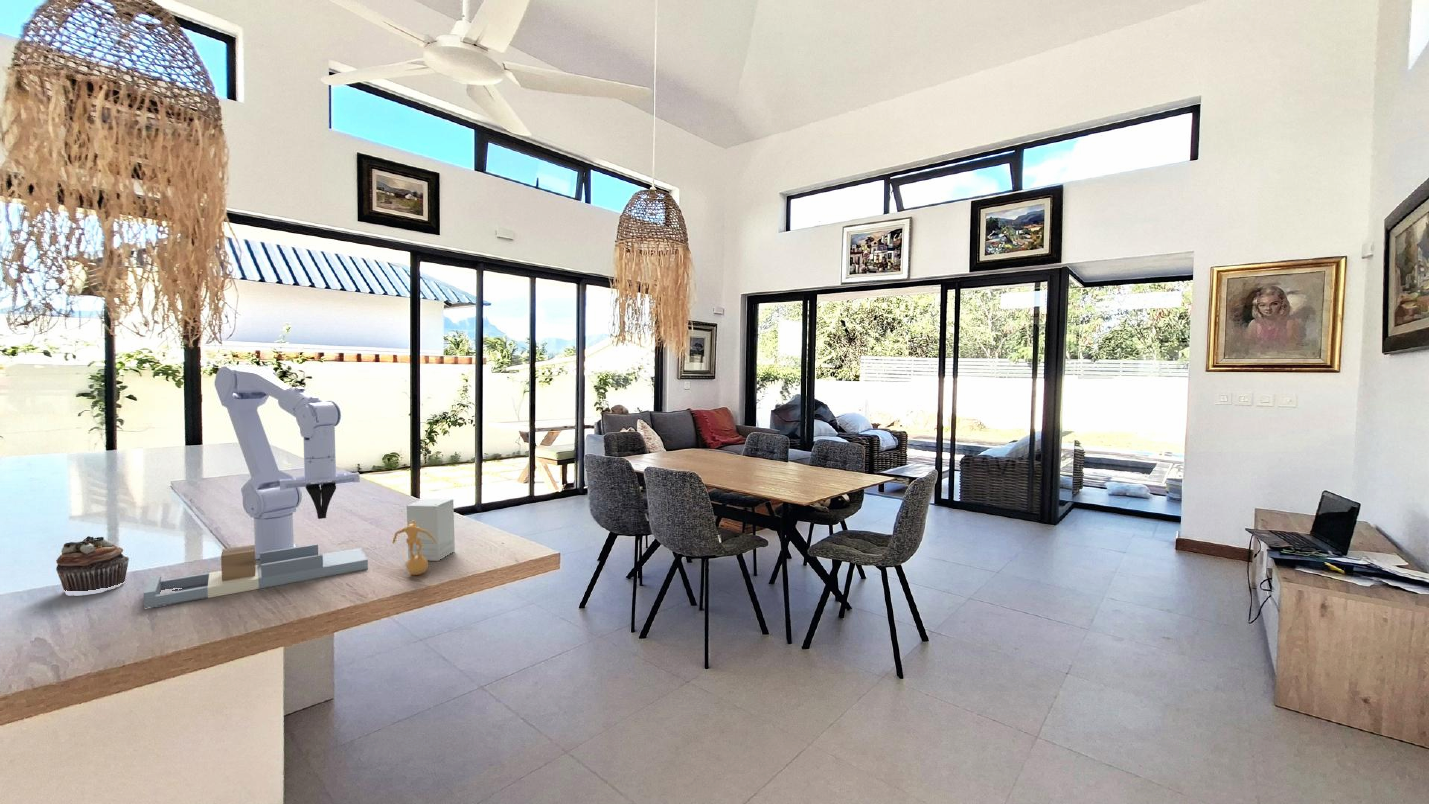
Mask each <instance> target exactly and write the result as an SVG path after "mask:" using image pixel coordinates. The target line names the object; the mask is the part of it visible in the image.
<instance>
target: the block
mask: <svg viewBox="0 0 1429 804" xmlns="http://www.w3.org/2000/svg"><path fill="white" fill-rule="evenodd" d="M221 551H222V552H221V554H220V563H221V565H220V566H221V571H222V581H228V580H234V579H240V578H246V577H252V576H255V572H256V565H257V564H256V559H255V544H251V545H245V546H244V545H243V546H237V547H229V548H223V549H222V550H221Z"/></svg>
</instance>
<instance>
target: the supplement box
mask: <svg viewBox="0 0 1429 804" xmlns="http://www.w3.org/2000/svg"><path fill="white" fill-rule="evenodd" d="M454 507H455V506H454V499H453V498H427V497H426V498H425V497H424V498H422V499H420V500H417V501H415V502H413V503H412V502H411V503H410V504H407V505H406V521H407V522H406V523H407V526H408V525H409V524H410V523H411V521H413V520H414V521H415V522H416V526H417V527H419V528H421V529H423V530H425V531H427V532H429V534H430V535H432V536H433V538H434V539H435V542H436V543H435V542H434V540H433V539H432V538H430V537H429V536H428V535H427V534H426V533H422V532H419V531H418V534H417V539H418V538H420V539H421V540H420V541H421V543H422V547H421V551H420V555H422V556H423V557H425V558H426V559H427V561H430V562H431V561H435V562H438V561H441V560H442V559H444V558H446V557H447V555H448V556H449V555H451V554H453V553H454V552H455V551H456V549H455V548H456V547H455V545H456V544H455V515H454V513H455V510H454ZM407 526H406V527H407ZM407 538H409V537H408V536H407ZM418 548H419V546H418V545H416V542H414V544H413V551H412V553H413V555H415V556H417V555H418V554H417V549H418ZM407 549H408V550H407V553H408V560H409V559H410V558H411V555H410V552H409V549H410V546H409V545H408V544H407ZM452 552H453V553H452ZM450 553H451V554H450ZM445 556H446V557H445ZM440 559H441V560H440Z"/></svg>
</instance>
